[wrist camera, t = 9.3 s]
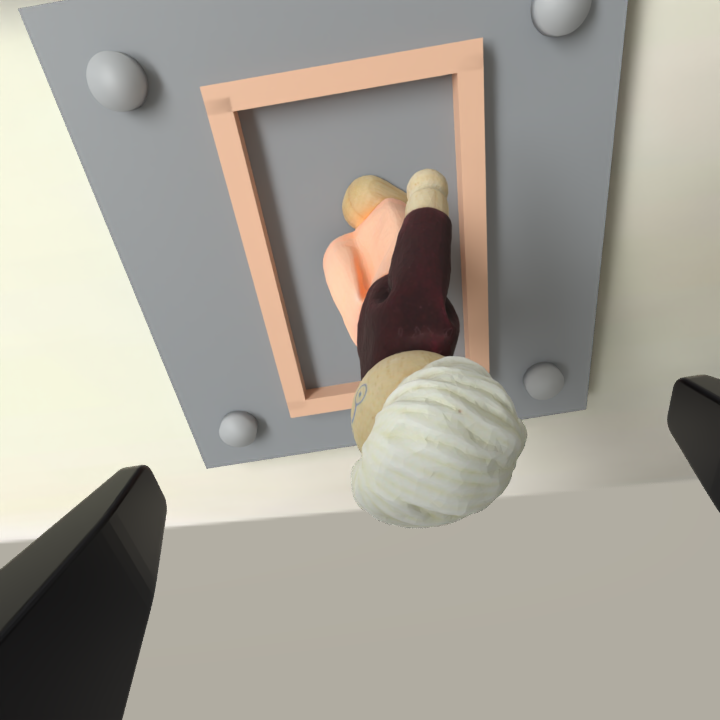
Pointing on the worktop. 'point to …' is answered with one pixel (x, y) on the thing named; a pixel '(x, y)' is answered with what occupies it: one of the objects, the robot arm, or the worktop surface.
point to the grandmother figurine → (415, 362)
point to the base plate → (340, 185)
